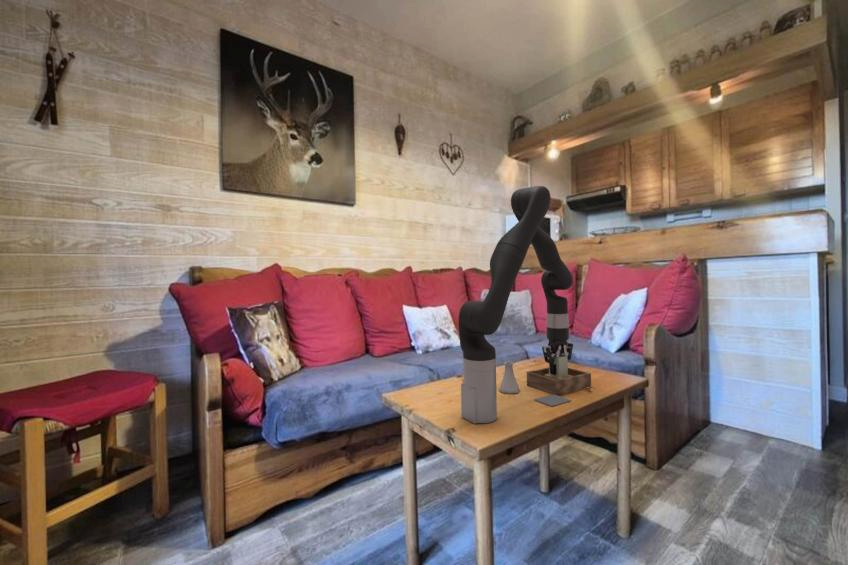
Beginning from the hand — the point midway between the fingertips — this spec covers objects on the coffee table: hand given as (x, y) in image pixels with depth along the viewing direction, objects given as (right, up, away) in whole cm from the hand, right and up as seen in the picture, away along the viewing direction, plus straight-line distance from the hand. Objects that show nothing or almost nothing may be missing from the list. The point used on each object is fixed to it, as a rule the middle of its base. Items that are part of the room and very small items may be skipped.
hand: (558, 373), depth 129 cm
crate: (0, -5, 0) cm, 5 cm away
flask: (-19, -6, -4) cm, 20 cm away
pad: (-7, -5, -14) cm, 17 cm away
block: (0, -1, 0) cm, 1 cm away
